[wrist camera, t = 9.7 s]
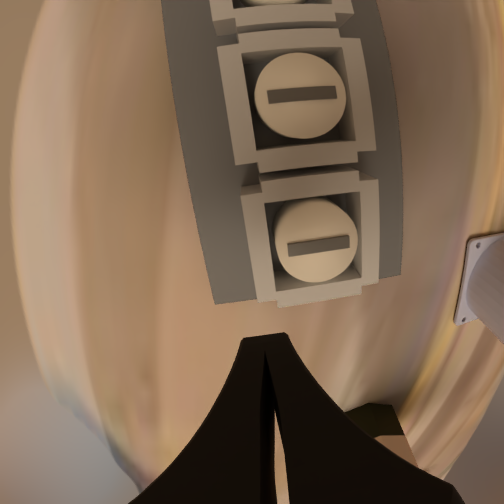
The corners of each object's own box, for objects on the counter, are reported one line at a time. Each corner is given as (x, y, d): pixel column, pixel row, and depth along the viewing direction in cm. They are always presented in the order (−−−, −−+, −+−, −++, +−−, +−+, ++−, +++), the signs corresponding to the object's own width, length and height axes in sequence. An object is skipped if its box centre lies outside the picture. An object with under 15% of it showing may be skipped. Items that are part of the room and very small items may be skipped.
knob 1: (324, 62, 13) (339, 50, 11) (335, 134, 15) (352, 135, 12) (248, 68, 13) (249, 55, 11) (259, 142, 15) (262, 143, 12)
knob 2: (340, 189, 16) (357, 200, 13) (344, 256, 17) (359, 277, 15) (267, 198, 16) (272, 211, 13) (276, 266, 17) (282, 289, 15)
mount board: (349, -44, 11) (369, -72, 8) (390, 264, 20) (417, 292, 16) (163, -31, 12) (146, -61, 8) (216, 291, 20) (211, 327, 16)
